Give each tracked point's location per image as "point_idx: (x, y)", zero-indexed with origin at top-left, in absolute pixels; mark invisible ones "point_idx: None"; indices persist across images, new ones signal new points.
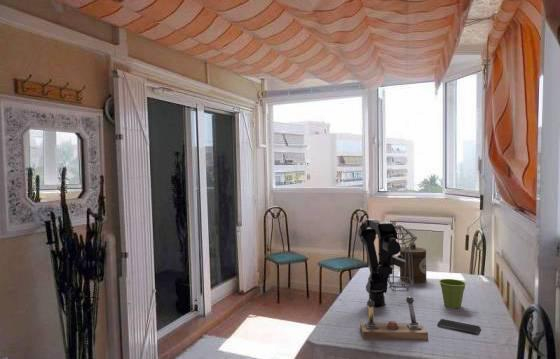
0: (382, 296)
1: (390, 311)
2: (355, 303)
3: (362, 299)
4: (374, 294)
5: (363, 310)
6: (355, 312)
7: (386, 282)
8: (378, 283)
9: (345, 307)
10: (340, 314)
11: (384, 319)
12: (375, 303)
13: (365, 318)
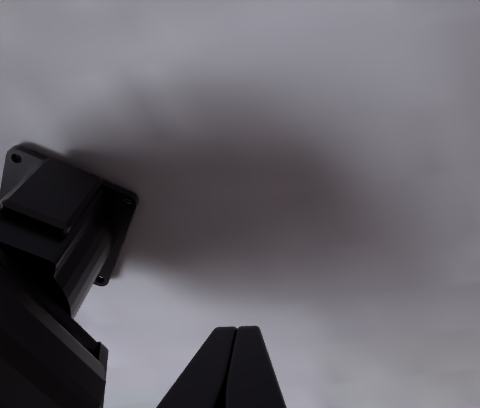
0: (30, 219)
1: (169, 75)
2: (126, 346)
3: None
4: (75, 303)
5: (251, 285)
6: (319, 325)
7: (278, 393)
8: (25, 395)
9: None
10: (393, 393)
11: (425, 99)
12: (108, 235)
13: (436, 250)
